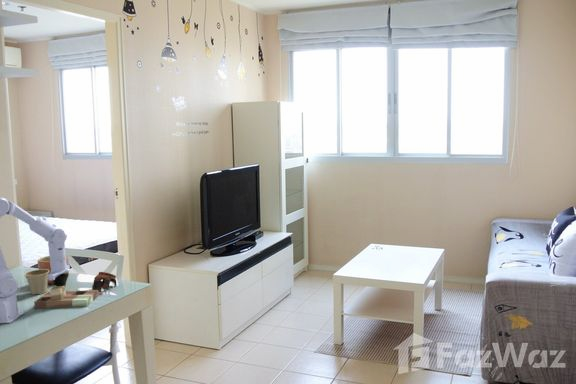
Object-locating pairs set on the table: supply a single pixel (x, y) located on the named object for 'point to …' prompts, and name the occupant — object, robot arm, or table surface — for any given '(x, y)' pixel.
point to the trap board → (68, 299)
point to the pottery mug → (105, 283)
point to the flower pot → (37, 281)
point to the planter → (47, 265)
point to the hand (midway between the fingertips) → (61, 292)
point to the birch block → (58, 292)
